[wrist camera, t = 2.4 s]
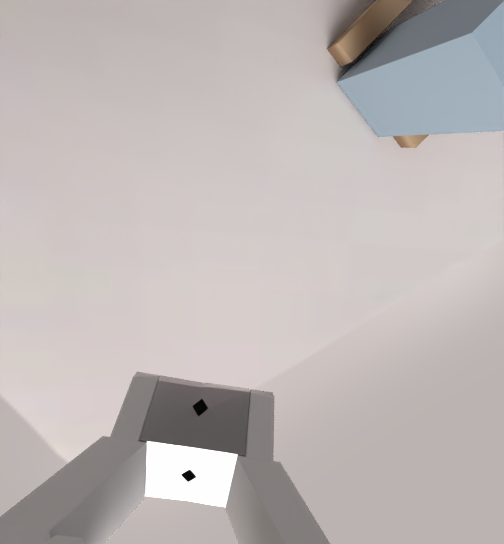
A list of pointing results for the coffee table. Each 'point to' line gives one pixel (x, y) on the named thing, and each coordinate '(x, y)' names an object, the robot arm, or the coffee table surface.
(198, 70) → the coffee table surface
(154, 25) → the coffee table surface
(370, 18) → the brown flat open frame
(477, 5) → the block
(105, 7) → the coffee table surface
